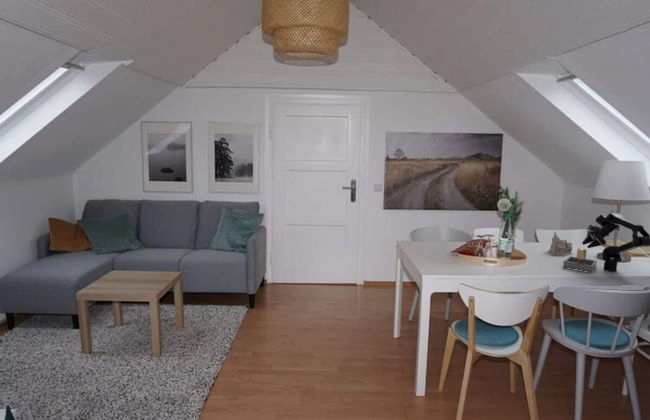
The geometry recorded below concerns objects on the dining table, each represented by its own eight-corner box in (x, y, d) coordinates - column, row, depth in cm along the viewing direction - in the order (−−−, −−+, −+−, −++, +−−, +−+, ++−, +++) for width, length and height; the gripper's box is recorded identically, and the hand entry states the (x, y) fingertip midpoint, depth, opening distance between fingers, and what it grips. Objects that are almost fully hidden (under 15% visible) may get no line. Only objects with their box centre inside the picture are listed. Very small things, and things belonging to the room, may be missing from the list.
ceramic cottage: (551, 255, 327) (555, 234, 325) (546, 250, 343) (550, 230, 341) (575, 258, 323) (579, 237, 321) (569, 253, 339) (573, 233, 337)
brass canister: (585, 266, 298) (587, 249, 296) (583, 267, 294) (585, 251, 292) (576, 264, 301) (578, 248, 299) (574, 266, 297) (576, 249, 295)
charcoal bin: (596, 267, 299) (596, 260, 298) (591, 273, 287) (592, 266, 286) (568, 262, 309) (569, 256, 308) (563, 267, 297) (563, 261, 296)
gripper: (592, 218, 304) (572, 233, 308) (603, 223, 286) (581, 239, 290) (603, 230, 304) (583, 245, 308) (615, 237, 286) (593, 253, 290)
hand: (585, 245), depth 299 cm, fingers open, 9 cm apart
